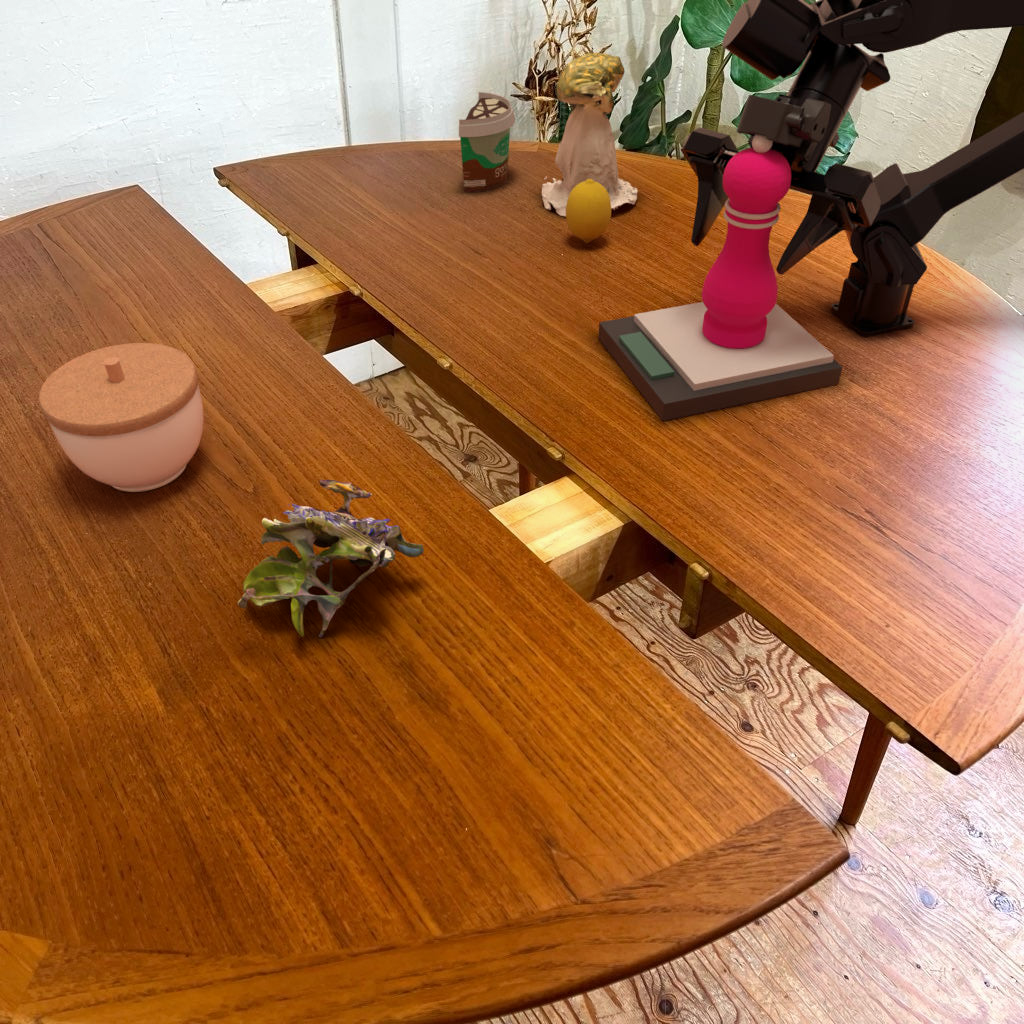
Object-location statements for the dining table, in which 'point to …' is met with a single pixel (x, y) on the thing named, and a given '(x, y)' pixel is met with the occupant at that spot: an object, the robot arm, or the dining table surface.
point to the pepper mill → (746, 248)
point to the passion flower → (321, 554)
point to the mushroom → (588, 132)
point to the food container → (486, 143)
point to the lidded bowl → (126, 414)
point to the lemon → (588, 210)
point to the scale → (713, 361)
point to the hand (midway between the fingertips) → (735, 258)
